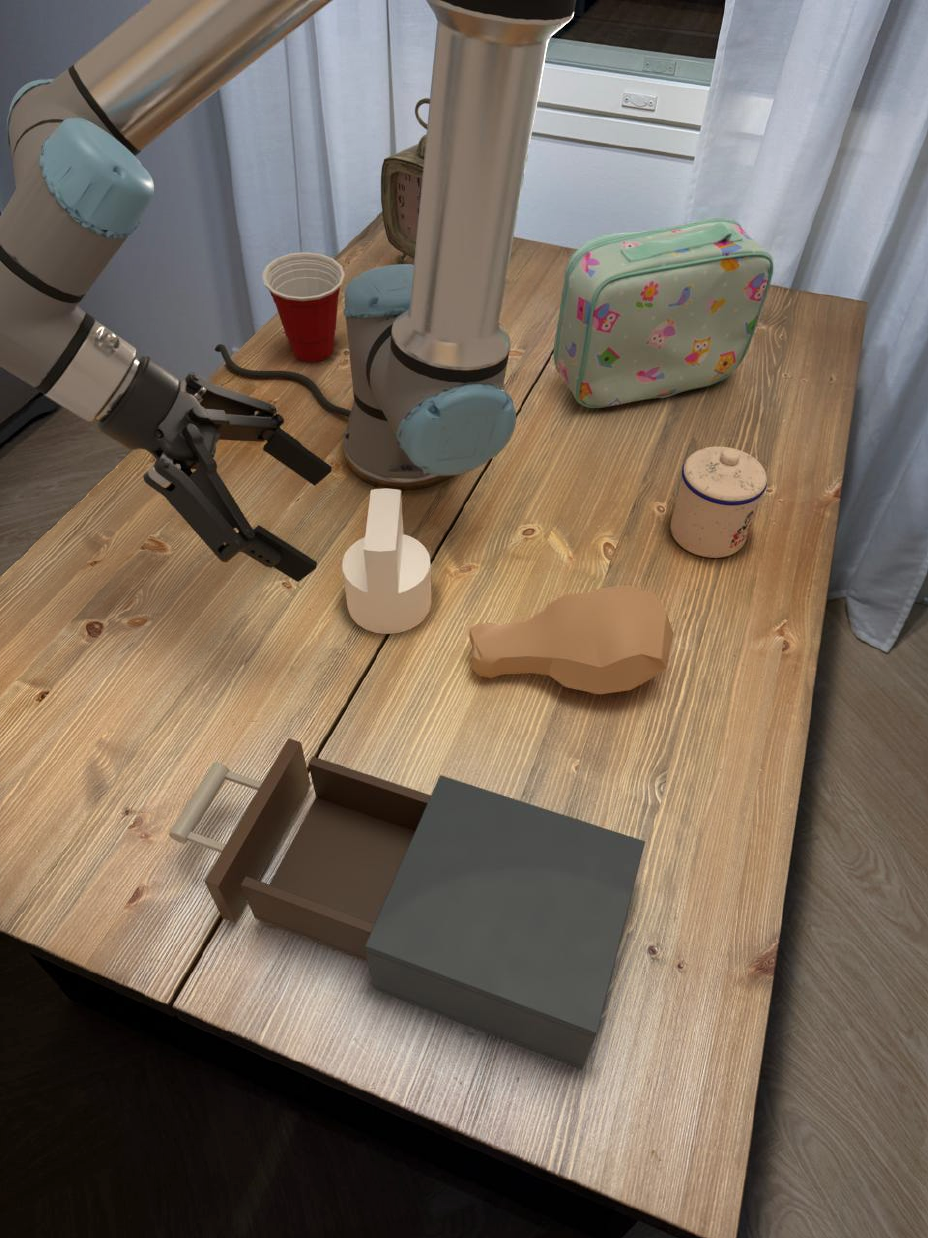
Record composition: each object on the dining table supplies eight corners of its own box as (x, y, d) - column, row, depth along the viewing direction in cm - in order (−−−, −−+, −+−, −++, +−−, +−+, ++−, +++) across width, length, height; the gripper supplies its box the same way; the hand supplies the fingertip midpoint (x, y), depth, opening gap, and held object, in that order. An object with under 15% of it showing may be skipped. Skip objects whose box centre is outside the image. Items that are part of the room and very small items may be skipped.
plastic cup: (290, 381, 122) (278, 300, 113) (264, 342, 128) (250, 262, 119) (364, 361, 125) (357, 280, 116) (335, 324, 131) (326, 245, 122)
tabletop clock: (384, 266, 143) (374, 94, 124) (422, 246, 147) (418, 77, 129) (453, 297, 137) (453, 121, 118) (490, 274, 141) (496, 102, 123)
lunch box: (712, 344, 129) (750, 193, 113) (751, 382, 123) (797, 229, 106) (544, 379, 123) (558, 226, 106) (576, 422, 116) (596, 266, 100)
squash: (678, 706, 87) (687, 663, 79) (475, 721, 89) (465, 680, 81) (663, 611, 93) (670, 563, 85) (472, 627, 94) (462, 581, 87)
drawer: (159, 894, 73) (137, 856, 67) (241, 761, 81) (227, 717, 76) (401, 987, 68) (396, 953, 63) (462, 835, 76) (462, 794, 71)
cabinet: (372, 989, 69) (364, 946, 62) (441, 826, 78) (440, 774, 71) (582, 1070, 65) (596, 1033, 59) (628, 890, 74) (645, 841, 68)
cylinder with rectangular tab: (429, 634, 92) (427, 552, 83) (343, 633, 92) (331, 550, 83) (433, 572, 98) (431, 489, 89) (351, 571, 98) (341, 487, 89)
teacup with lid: (743, 568, 99) (771, 488, 90) (661, 550, 101) (681, 470, 92) (753, 500, 107) (780, 420, 98) (677, 484, 108) (697, 404, 100)
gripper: (99, 458, 65) (326, 598, 76) (173, 284, 81) (351, 421, 93) (51, 511, 69) (274, 637, 80) (131, 335, 85) (307, 461, 97)
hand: (316, 522), depth 86 cm, fingers open, 13 cm apart
